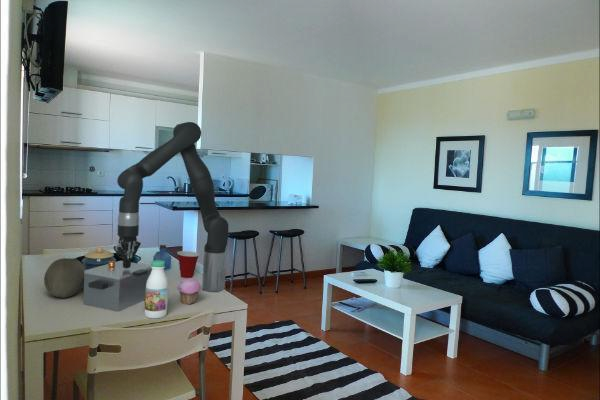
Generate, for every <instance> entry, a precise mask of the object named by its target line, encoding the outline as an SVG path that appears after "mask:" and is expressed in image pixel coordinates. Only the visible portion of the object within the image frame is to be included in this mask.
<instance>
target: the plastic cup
mask: <svg viewBox="0 0 600 400" xmlns="http://www.w3.org/2000/svg"><path fill="white" fill-rule="evenodd" d="M200 256H201V254H200V253H199V252H196V251H195V252H194V251H186V250H183V251H182V250H181V251H177V259H178V265H179V275H180V277H181V278H183V279H186V278H193V277H194V275H195V271H196V266H197V262H198V259H199V257H200Z"/></svg>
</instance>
